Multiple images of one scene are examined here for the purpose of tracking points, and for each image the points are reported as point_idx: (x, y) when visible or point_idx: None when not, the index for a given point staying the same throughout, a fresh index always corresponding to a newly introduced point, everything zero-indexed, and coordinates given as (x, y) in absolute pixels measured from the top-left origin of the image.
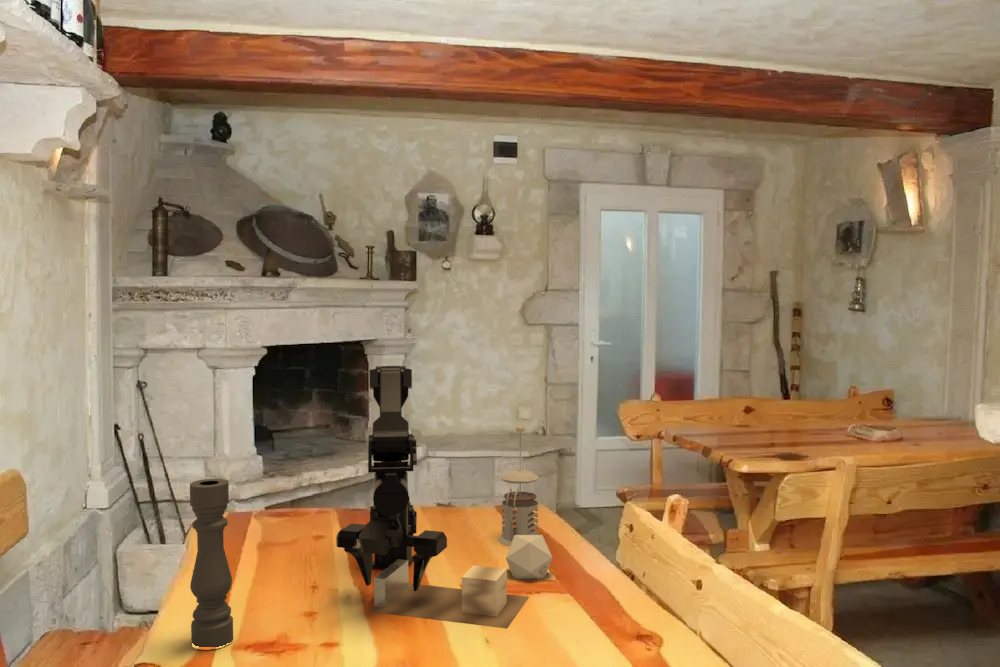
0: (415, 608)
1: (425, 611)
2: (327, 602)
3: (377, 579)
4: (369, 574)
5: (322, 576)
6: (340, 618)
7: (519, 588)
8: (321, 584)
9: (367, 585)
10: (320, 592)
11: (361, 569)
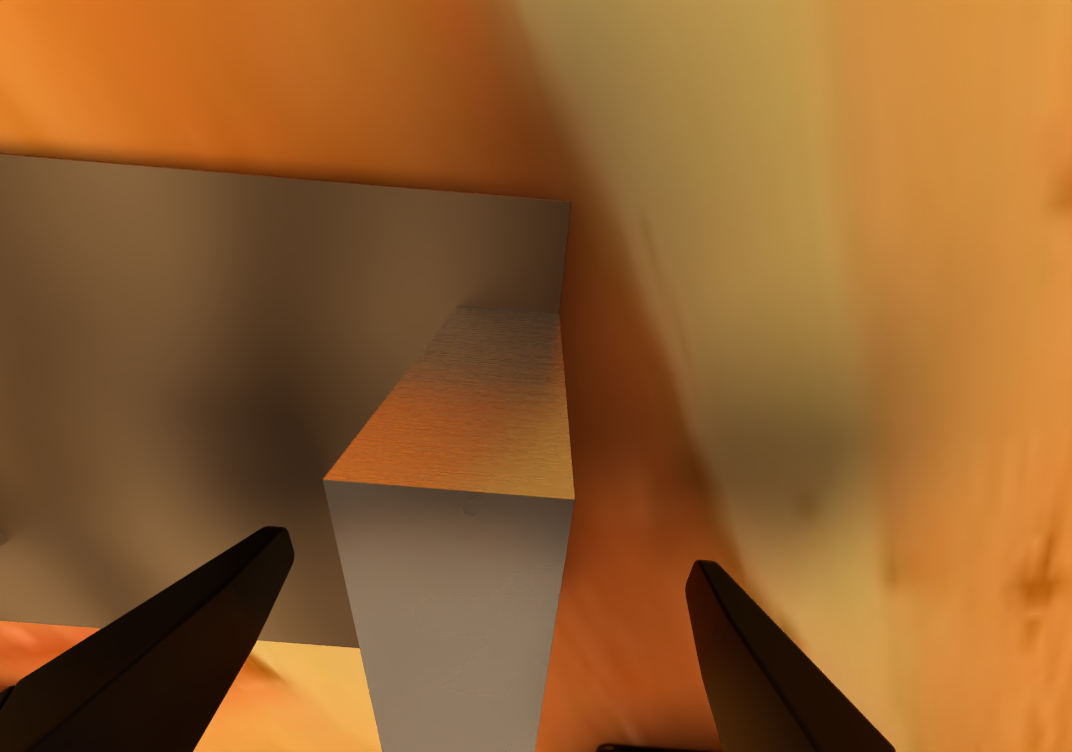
0: (225, 349)
1: (111, 307)
2: (957, 401)
3: (499, 474)
4: (725, 674)
5: (978, 682)
6: (828, 94)
7: (25, 675)
8: (989, 614)
9: (704, 561)
10: (1003, 530)
11: (860, 733)
